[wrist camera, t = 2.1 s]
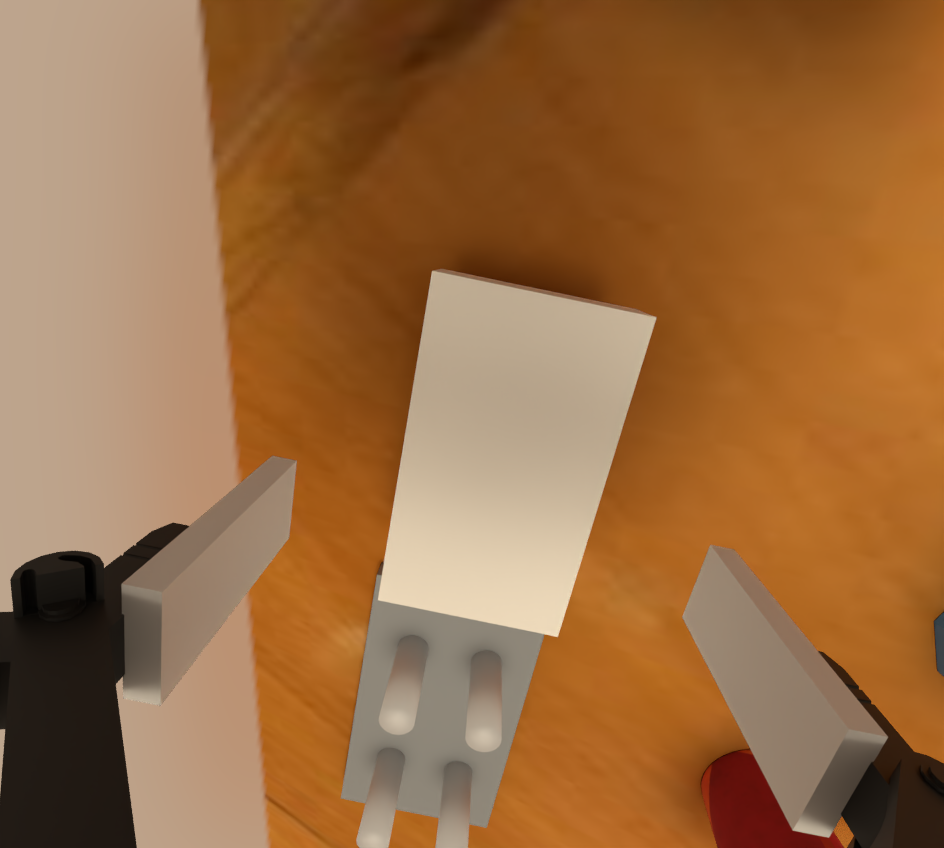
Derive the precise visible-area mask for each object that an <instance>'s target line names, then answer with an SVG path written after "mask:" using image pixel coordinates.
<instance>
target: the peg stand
mask: <svg viewBox="0 0 944 848" xmlns="http://www.w3.org/2000/svg"><path fill="white" fill-rule="evenodd" d="M383 565H384V563H383V562H382V563H381V566H380V568H379V571H378V573H377V578H376V584H375V591H374V597H373V603H372V609H371V615H370V622H369V628H368V634H367V640H366V646H365V652H364V659H363V665H362V671H361V677H360V683H359V690H358V696H357V702H356V708H355V714H354V721H353V727H352V733H351V739H350V745H349V752H348V758H347V764H346V770H345V776H344V782H343V789H342V795H341V798H342V799H347V800H352V801H357V802H362V803H366V804H365V808H364V812H363V816H362V820H361V824H360V828H359V832H358V836H357V845H358V846H359V848H388V846H389V841H390V836H391V831H392V826H393V821H394V816H395V810H401V811H406V812H411V813H416V814H421V815H426V816H431V817H436V818H439V822H438V831H437V839H436V848H468V834H469V824H471V825H476V826H481V827H486V828H487V825H488V822H489V818H490V815H491V811H492V808H493V805H494V801H495V798H496V795H497V791H498V788H499V785H500V781H501V778H502V775H503V771H504V768H505V765H506V761H507V758H508V755H509V751H510V748H511V744H512V741H513V738H514V734H515V731H516V728H517V724H518V721H519V718H520V714H521V711H522V708H523V704H524V701H525V698H526V694H527V691H528V688H529V684H530V681H531V678H532V674H533V671H534V667H535V664H536V661H537V657H538V654H539V651H540V647H541V644H542V641H543V637H544V634H541V633H536V632H531V631H526V630H521V629H517V628H512V627H507V626H502V625H497V624H492V623H487V622H482V621H477V620H472V619H467V618H463V617H458V616H453V615H448V614H443V613H438V612H433V611H428V610H423V609H418V608H414V607H409V606H404V605H399V604H394V603H389V602H384V601H379V600H378V596H379V590H380V583H381V577H382V571H383Z"/></svg>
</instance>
